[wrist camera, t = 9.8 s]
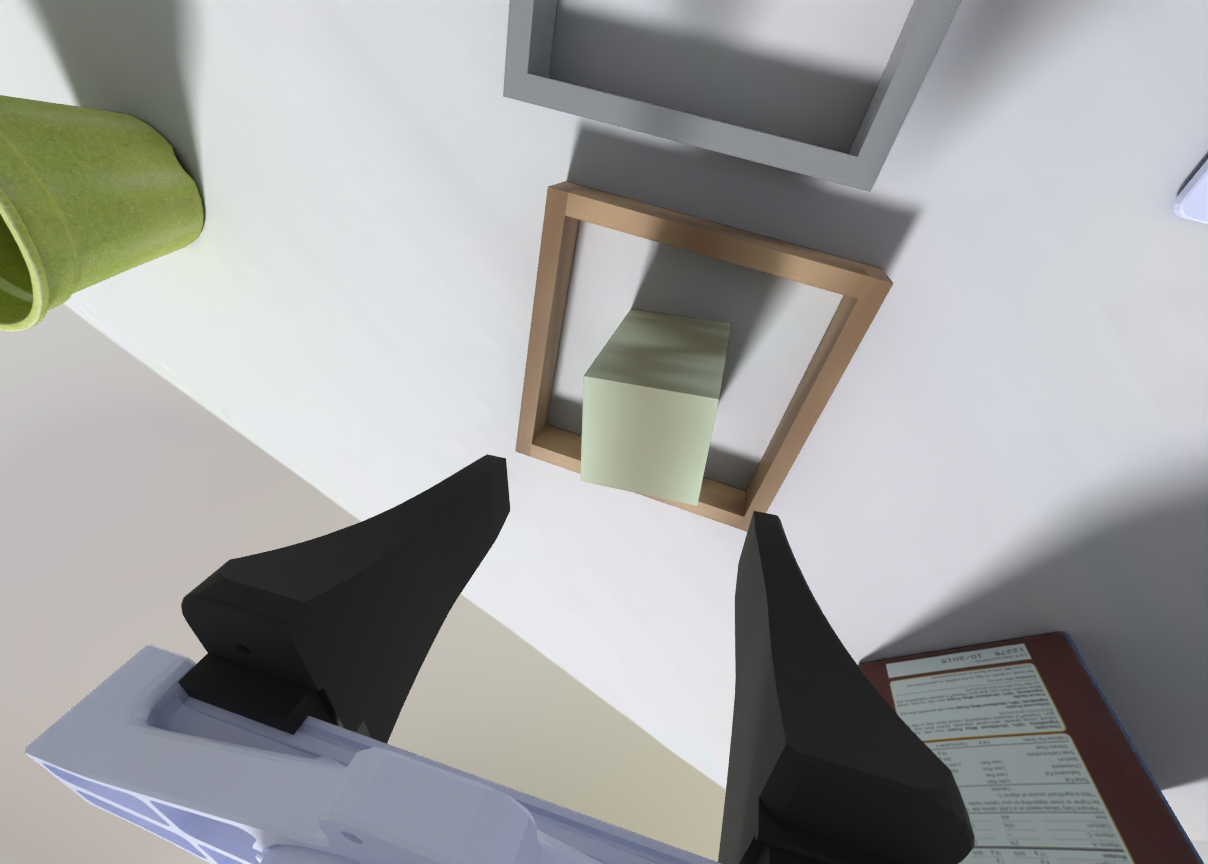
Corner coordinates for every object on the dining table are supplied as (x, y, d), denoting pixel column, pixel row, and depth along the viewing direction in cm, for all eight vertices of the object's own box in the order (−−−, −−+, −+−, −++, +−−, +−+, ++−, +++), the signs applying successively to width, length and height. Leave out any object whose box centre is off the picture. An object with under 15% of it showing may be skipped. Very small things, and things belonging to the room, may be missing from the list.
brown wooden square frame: (881, 268, 18) (893, 283, 17) (754, 507, 25) (754, 534, 24) (565, 181, 20) (548, 186, 18) (530, 431, 27) (515, 451, 25)
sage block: (731, 323, 21) (719, 399, 15) (713, 411, 23) (696, 506, 18) (631, 308, 22) (583, 375, 16) (623, 395, 24) (580, 480, 18)
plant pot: (230, 127, 22) (-17, 132, 15) (241, 306, 28) (63, 369, 21) (47, 31, 22) (-284, -9, 15) (95, 229, 28) (-133, 267, 21)
